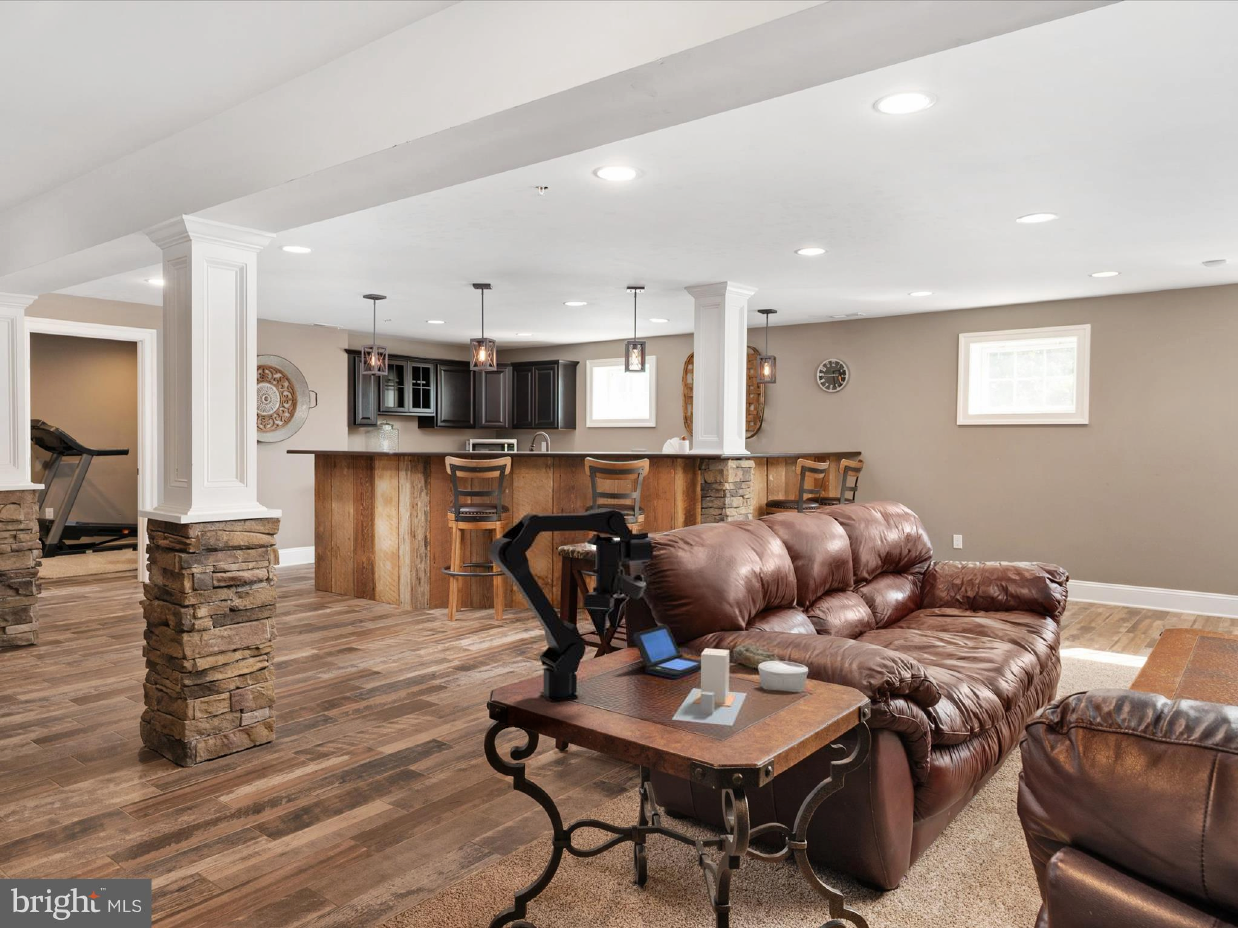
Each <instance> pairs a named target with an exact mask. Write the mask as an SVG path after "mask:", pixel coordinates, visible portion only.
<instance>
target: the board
mask: <svg viewBox="0 0 1238 928" xmlns="http://www.w3.org/2000/svg"><path fill="white" fill-rule="evenodd" d="M747 694H748V693H747V692H739V691H738V692H736V691H729V697H728V699H727V701H726V703H717V702H715V692H714V691H702V693H701V688H694V687H693V688H692V689H691V691H690V692H689V694H688V695H687V696H686V699H684V701H683V703H682V704H681V706H680V707H679V708H678V710H677V711H676V713H675V714H674V716H673V717H672V719H671V721H672V720H674V721H682V722H692V723H702V724H709V725H710V724H711V725H720V726H731V727H733V726H734V723H735V721H736V719H737V717H738V715H739V712H740V710H741V709H742V705H743V703H744V701H745V698H746V697H747Z"/></svg>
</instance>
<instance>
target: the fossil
mask: <svg viewBox="0 0 1238 928" xmlns="http://www.w3.org/2000/svg"><path fill="white" fill-rule="evenodd" d="M732 653H733V654H732V656H733V657H734V659H736V660H737V661H738V662H740V663H741V665H744V666H746V667H747V668H748V669H749V668H750V669H758V665H759V664H760V663H763V662H767V661H781V660H780V659H779V657H778V656H776V655H775V653H772V651H770V650H769V649H768V648H765V647H763V646H761V645H757V643H752V642H748V643H747V642H744V643H740V644H738V645H737V646H736V647H735V648H733V649H732Z"/></svg>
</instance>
